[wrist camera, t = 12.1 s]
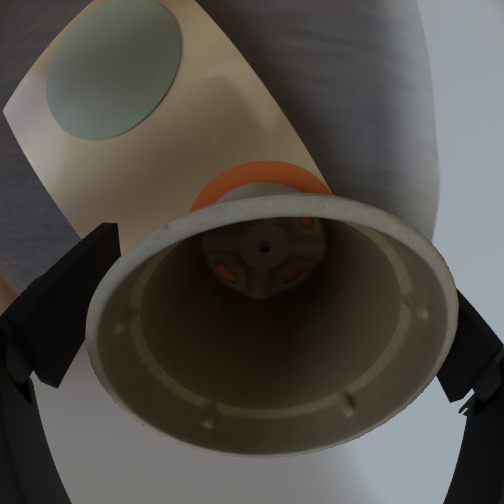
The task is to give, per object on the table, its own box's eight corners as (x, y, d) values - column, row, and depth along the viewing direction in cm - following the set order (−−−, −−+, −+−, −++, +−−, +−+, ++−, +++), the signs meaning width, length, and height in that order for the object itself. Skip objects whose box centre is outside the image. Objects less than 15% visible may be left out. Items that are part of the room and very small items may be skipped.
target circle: (154, 221, 13) (153, 221, 13) (293, 127, 11) (294, 127, 11) (243, 326, 16) (243, 327, 16) (365, 261, 14) (366, 262, 14)
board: (16, 109, 11) (1, 111, 9) (159, -31, 8) (150, -43, 6) (192, 338, 19) (188, 354, 17) (358, 252, 15) (367, 265, 14)
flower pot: (389, 205, 13) (505, 306, 5) (297, 336, 16) (319, 466, 9) (217, 112, 11) (141, 89, 3) (150, 279, 14) (86, 411, 7)
